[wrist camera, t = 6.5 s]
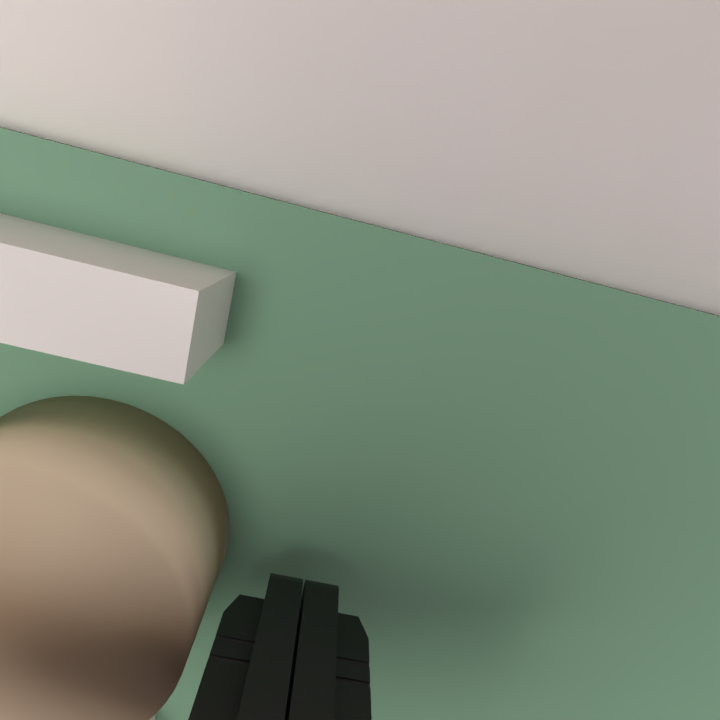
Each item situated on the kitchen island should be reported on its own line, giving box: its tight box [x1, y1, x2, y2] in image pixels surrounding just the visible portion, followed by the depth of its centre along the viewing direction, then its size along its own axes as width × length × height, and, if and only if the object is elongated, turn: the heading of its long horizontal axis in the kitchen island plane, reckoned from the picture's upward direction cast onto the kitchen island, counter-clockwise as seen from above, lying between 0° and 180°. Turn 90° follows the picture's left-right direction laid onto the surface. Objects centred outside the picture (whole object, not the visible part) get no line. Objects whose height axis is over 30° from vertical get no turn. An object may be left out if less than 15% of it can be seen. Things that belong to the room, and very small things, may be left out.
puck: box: [0, 396, 230, 720], centre depth 10 cm, size 6×6×3 cm
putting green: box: [0, 127, 720, 720], centre depth 12 cm, size 16×26×1 cm, turn 76°
